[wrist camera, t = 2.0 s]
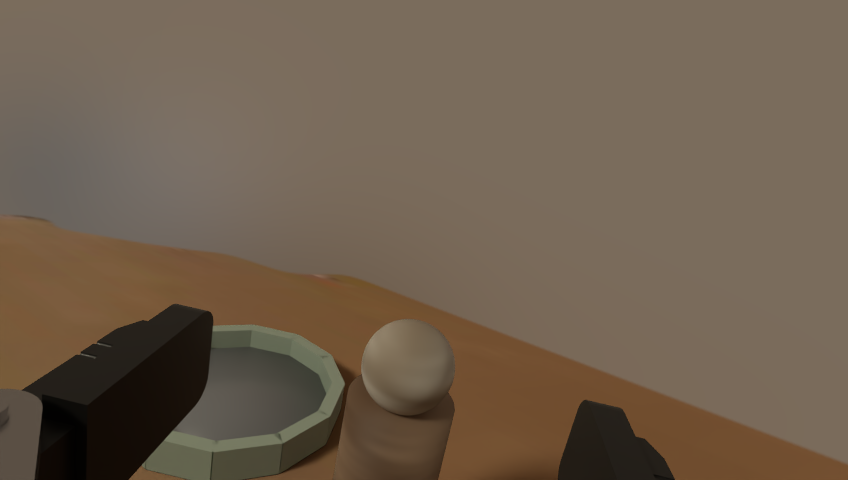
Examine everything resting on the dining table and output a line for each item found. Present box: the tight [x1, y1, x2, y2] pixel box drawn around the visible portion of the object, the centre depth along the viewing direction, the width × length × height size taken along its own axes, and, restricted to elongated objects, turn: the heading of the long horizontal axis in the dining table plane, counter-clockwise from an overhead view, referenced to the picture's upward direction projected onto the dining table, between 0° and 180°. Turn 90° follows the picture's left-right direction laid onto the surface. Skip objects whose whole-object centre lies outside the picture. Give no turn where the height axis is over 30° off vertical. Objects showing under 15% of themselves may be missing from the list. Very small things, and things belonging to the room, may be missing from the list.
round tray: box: [142, 325, 345, 480], centre depth 40 cm, size 16×16×2 cm
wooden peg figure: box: [333, 319, 455, 480], centre depth 26 cm, size 5×5×16 cm
